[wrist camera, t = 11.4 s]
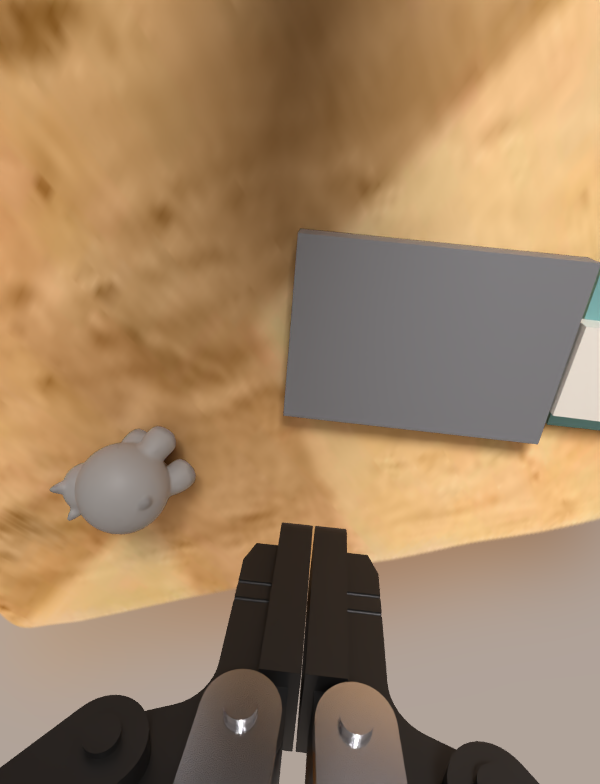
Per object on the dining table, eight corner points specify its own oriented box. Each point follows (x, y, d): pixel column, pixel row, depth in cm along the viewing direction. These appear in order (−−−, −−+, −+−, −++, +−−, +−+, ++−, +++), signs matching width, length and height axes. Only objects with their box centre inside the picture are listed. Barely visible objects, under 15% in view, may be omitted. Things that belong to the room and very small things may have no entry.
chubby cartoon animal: (85, 421, 47) (5, 476, 40) (176, 415, 40) (98, 480, 34) (120, 482, 49) (49, 544, 43) (209, 486, 43) (143, 558, 36)
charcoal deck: (300, 228, 35) (298, 232, 33) (587, 257, 34) (601, 263, 32) (286, 404, 41) (283, 415, 39) (529, 431, 40) (537, 444, 39)
